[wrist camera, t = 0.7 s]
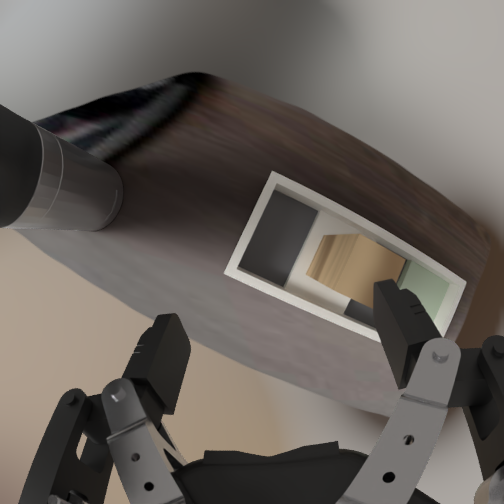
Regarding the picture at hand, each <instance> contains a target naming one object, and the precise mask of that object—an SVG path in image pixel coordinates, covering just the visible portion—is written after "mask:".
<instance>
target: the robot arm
mask: <svg viewBox="0 0 504 504" xmlns="http://www.w3.org/2000/svg"><path fill="white" fill-rule="evenodd" d="M122 200H123V185H122V180H121V178H120V176H119V174H118V172H117V171H116V170H115V169H114V168H113V167H112V166H110V165H109V164H107V163H105V162H103V161H101V160H100V159H98V158H96V157H94V156H93V155H91V154H89V153H87V152H85V151H83V150H82V149H80V148H78V147H76V146H74V145H72V144H71V143H69V142H67V141H65V140H63V139H61V138H60V137H58V136H56V135H54V134H52V133H50V132H49V131H46V130H45V129H43V128H41V127H39V126H37V125H35V124H33V123H32V122H30V121H28V120H26V119H24V118H22V117H21V116H19V115H17V114H15V113H14V112H12V111H10V110H9V109H7V108H6V107H4V106H2V105H0V228H21V229H22V228H26V229H53V230H75V231H96V230H100V229H102V228H104V227H106V226H107V225H108V224H109V223H111V222H112V221H113V219H114V218H115V217H116V215H117V213H118V212H119V210H120V207H121V204H122ZM373 319H374V324H375V328H376V330H377V333H378V335H379V338H380V340H381V343H382V345H383V348H384V351H385V353H386V356H387V359H388V361H389V364H390V367H391V370H392V372H393V375H394V378H395V381H396V384H397V386H398V389H399V390H400V389H403V388H406V390H405V392H404V394H403V395H401V397H400V399H399V401H398V403H397V405H396V407H395V409H394V411H393V413H392V415H391V417H390V419H389V421H388V423H387V425H386V427H385V428H384V430H383V432H382V434H381V436H380V438H379V439H378V441H377V443H376V445H375V446H374V448H373V450H372V452H371V453H370V455H367V454H364V453H361V452H358V451H354V450H347V449H339V446H338V441H335V442H329V443H323V444H316V445H309V446H303V447H300V448H297V449H294V450H291V451H288V452H284V453H281V454H278V455H274V456H270V457H267V456H260V455H255V454H249V453H244V452H239V451H209V450H206V451H205V452H204V458H203V459H200V460H196V461H193V462H191V463H187V461H186V460H185V459H184V458H183V456H182V455H181V453H180V452H179V450H178V448H177V446H176V445H175V443H174V441H173V439H172V438H171V436H170V434H169V432H168V430H167V429H166V427H165V425H164V423H163V422H162V421H161V419H162V416H163V414H168V415H173V414H174V411H175V407H176V403H177V400H178V396H179V392H180V389H181V385H182V381H183V378H184V374H185V371H186V367H187V364H188V360H189V357H190V352H191V345H190V341H189V338H188V336H187V334H186V332H185V330H184V328H183V326H182V323H181V321H180V319H179V317H178V315H177V314H176V313H171V314H162V315H158V316H157V317H156V319H155V322H154V324H153V326H152V327H149V328H148V329H147V330H146V331H145V332H144V333H143V334H142V336H141V337H140V339H139V342H138V343H137V346H136V348H135V350H134V354H132V356H131V358H130V360H129V363H128V365H127V367H126V369H125V371H124V373H123V375H122V378H120V379H116V380H113V381H112V382H110V383H109V384H108V385H106V387H105V388H104V389H103V392H102V393H101V394H97V395H92V396H86V394H85V393H84V392H83V391H82V390H81V389H78V388H75V389H71V390H69V391H67V392H66V393H65V394H64V395H63V396H62V397H61V399H60V401H59V403H58V405H57V407H56V409H55V411H54V413H53V416H52V418H51V420H50V422H49V424H48V427H47V429H46V431H45V433H44V436H43V438H42V440H41V443H40V445H39V448H38V450H37V453H36V455H35V458H34V460H33V463H32V466H31V468H30V471H29V474H28V477H27V479H26V482H25V485H24V488H23V491H22V494H21V497H20V500H19V503H18V504H103V503H104V499H105V495H106V491H107V486H108V483H109V479H110V475H111V471H112V467H113V463H114V464H115V466H116V469H117V471H118V475H119V477H120V480H121V482H122V485H123V487H124V490H125V492H126V494H127V497H128V499H129V501H130V504H440V503H438V502H436V501H435V500H434V499H432V498H430V497H429V496H428V495H426V494H424V493H423V492H421V491H420V490H418V489H417V488H415V487H416V485H417V484H418V482H419V480H420V478H421V476H422V473H423V471H424V469H425V467H426V465H427V463H428V460H429V458H430V456H431V454H432V451H433V449H434V446H435V444H436V441H437V439H438V436H439V434H440V431H441V428H442V425H443V423H444V420H445V417H446V414H447V411H448V408H449V407H462V408H463V412H464V414H465V417H466V420H467V423H468V426H469V429H470V433H471V436H472V439H473V442H474V446H475V449H476V453H477V456H478V460H479V464H480V468H481V472H482V476H483V480H484V482H483V483H482V484H481V485H480V486H479V487H478V489H477V491H476V493H475V497H474V504H504V337H503V336H499V335H495V336H491V337H488V338H487V339H486V340H485V341H484V343H483V345H482V347H481V348H470V349H461V348H459V347H458V346H457V344H456V343H455V342H453V341H452V340H449V339H446V338H443V337H442V336H441V334H440V332H439V331H438V329H437V327H436V326H435V324H434V322H433V321H432V319H431V317H430V316H429V314H428V313H427V312H426V309H425V308H424V306H423V305H422V303H421V302H420V300H419V298H418V297H417V295H416V294H414V293H413V292H411V291H410V290H408V289H407V288H406V289H401V290H400V289H399V287H398V286H397V284H396V283H395V281H394V280H393V279H387V280H382V281H377V282H374V286H373ZM82 433H83V434H85V435H86V436H87V440H86V443H85V446H84V449H83V452H82V455H81V458H80V460H79V459H78V457H77V454H76V449H77V446H78V443H79V441H80V438H81V435H82Z"/></svg>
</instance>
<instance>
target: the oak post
mask: <svg viewBox="0 0 504 504" xmlns="http://www.w3.org/2000/svg"><path fill="white" fill-rule="evenodd" d="M405 260H406V259H404V258H402V257H400V256H399V255H397V254H395V253H393V252H392V251H390V250H388V249H386V248H385V247H383V246H381V245H379V244H378V243H376V242H374V241H372V240H370V239H369V238H367V237H365V236H363V235H361V234H339V235H323V238H322V240H321V242H320V244H319V247H318V249H317V251H316V253H315V255H314V257H313V260H312V262H311V264H310V266H309V268H308V270H307V272H306V275H307V276H309V277H311V278H313V279H314V280H316V281H318V282H320V283H321V284H323V285H325V286H327V287H329V288H330V289H332V290H334V291H336V292H338V293H340V294H342V295H344V296H347V297H349V298H351V299H353V300H355V301H357V302H359V303H362V304H364V305H366V306H368V307H370V308H372V309H373V286H374V282H377V281H382V280H387V279H393V280H394V281H395V283H396V282H397V279H398V277H399V275H400V272H401V270H402V267H403V265H404V263H405Z"/></svg>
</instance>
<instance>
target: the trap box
mask: <svg viewBox="0 0 504 504" xmlns="http://www.w3.org/2000/svg"><path fill="white" fill-rule="evenodd" d="M339 234H361V235H363V236H365V237H367V238H369V239H370V240H372V241H374V242H376V243H378V244H379V245H381V246H383V247H385V248H386V249H388V250H390V251H392V252H393V253H395V254H397V255H399V256H400V257H402V258H404V259H406V260H405V263H404V265H403V267H402V270H401V272H400V275H399V277H398V279H397V282H396V284H397V286H398V287H399V289H400V290H401V289H406V288H407V289H408V290H410V291H411V292H413V293H414V294H416V295H417V297H418V298H419V300H420V302H421V303H422V305H423V306H424V308H425V309H426V312H427V313H428V314H429V316H430V317H431V319H432V321H433V322H434V324H435V326H436V327H437V329H438V331H439V332H440V334H441V336H442V337H444V335H445V333H446V331H447V329H448V327H449V324H450V322H451V320H452V318H453V315H454V313H455V311H456V308H457V306H458V303H459V301H460V298H461V296H462V293H463V291H464V288H465V285H466V283H467V282H466V281H464V280H463V279H462V278H460V277H459V276H457V275H456V274H454V273H453V272H451V271H450V270H448V269H447V268H445V267H444V266H442V265H441V264H439V263H438V262H436V261H435V260H433V259H431V258H430V257H428V256H427V255H425V254H424V253H422V252H420V251H419V250H417V249H416V248H414V247H412V246H411V245H409V244H408V243H406V242H404V241H403V240H401V239H399V238H398V237H396V236H394V235H393V234H391V233H389V232H388V231H386V230H384V229H382V228H381V227H379V226H377V225H375V224H374V223H372V222H370V221H368V220H367V219H365V218H363V217H361V216H360V215H358V214H356V213H354V212H352V211H350V210H349V209H347V208H345V207H343V206H341V205H339V204H338V203H336V202H334V201H332V200H330V199H328V198H326V197H324V196H322V195H320V194H318V193H316V192H314V191H313V190H311V189H309V188H307V187H305V186H303V185H301V184H299V183H297V182H295V181H292V180H290V179H288V178H286V177H284V176H282V175H280V174H278V173H276V172H274V171H272V172H271V175H270V177H269V179H268V181H267V183H266V185H265V187H264V189H263V191H262V193H261V195H260V197H259V200H258V202H257V204H256V206H255V208H254V210H253V212H252V214H251V216H250V219H249V221H248V223H247V225H246V227H245V229H244V231H243V233H242V236H241V238H240V240H239V242H238V244H237V246H236V248H235V250H234V253H233V255H232V257H231V259H230V261H229V263H228V266H227V268H226V270H225V272H224V274H226V275H228V276H230V277H232V278H234V279H236V280H239V281H241V282H243V283H245V284H247V285H249V286H252V287H254V288H256V289H258V290H260V291H263V292H265V293H267V294H269V295H271V296H274V297H276V298H278V299H280V300H283V301H285V302H287V303H289V304H292V305H294V306H296V307H298V308H301V309H303V310H305V311H307V312H310V313H312V314H314V315H317V316H319V317H321V318H324V319H326V320H328V321H331V322H333V323H335V324H338V325H340V326H342V327H345V328H347V329H349V330H352V331H354V332H357V333H359V334H361V335H364V336H366V337H368V338H371V339H373V340H376V341H378V342H381V340H380V338H379V335H378V333H377V330H376V328H375V324H374V319H373V309H372V308H370V307H368V306H366V305H364V304H362V303H359V302H357V301H355V300H353V299H351V298H349V297H347V296H344V295H342V294H340V293H338V292H336V291H334V290H332V289H330V288H329V287H327V286H325V285H323V284H321V283H320V282H318V281H316V280H314V279H313V278H311V277H309V276H307V275H306V272H307V270H308V268H309V266H310V264H311V262H312V260H313V257H314V255H315V253H316V251H317V249H318V247H319V244H320V242H321V240H322V238H323V235H339Z"/></svg>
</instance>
